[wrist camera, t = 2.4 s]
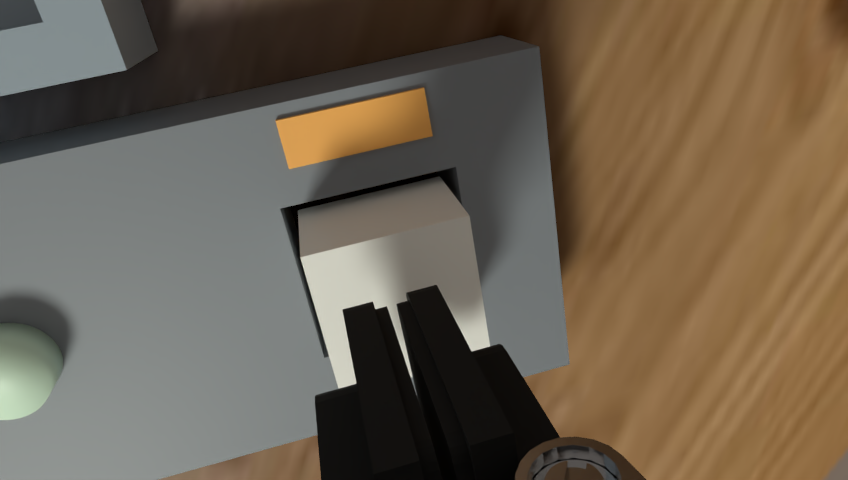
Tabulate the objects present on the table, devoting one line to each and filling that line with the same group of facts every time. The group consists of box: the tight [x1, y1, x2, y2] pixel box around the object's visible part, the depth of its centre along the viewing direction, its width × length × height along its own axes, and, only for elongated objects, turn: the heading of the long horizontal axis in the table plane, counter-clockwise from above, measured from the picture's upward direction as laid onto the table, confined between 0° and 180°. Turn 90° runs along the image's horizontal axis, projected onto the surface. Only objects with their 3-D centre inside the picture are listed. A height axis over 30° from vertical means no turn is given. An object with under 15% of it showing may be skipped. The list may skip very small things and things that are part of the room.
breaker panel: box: [0, 35, 569, 480], centre depth 14 cm, size 16×8×3 cm, turn 100°
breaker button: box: [298, 176, 490, 388], centre depth 13 cm, size 3×3×2 cm
